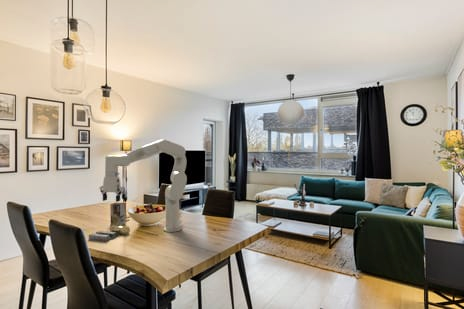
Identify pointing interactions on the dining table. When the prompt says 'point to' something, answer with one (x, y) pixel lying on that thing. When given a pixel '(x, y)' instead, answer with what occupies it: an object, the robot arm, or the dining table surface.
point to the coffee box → (118, 214)
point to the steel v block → (102, 236)
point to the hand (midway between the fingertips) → (111, 200)
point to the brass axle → (121, 229)
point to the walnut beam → (116, 232)
